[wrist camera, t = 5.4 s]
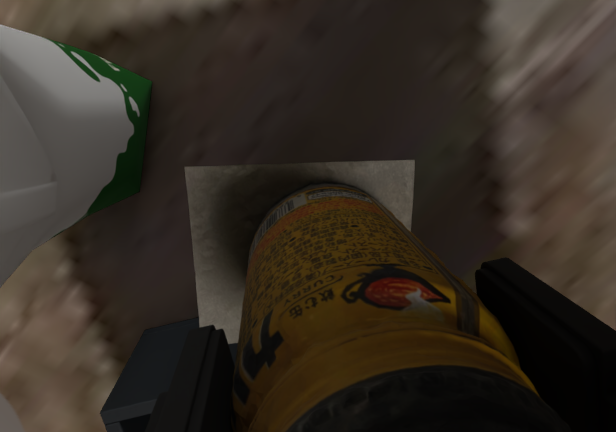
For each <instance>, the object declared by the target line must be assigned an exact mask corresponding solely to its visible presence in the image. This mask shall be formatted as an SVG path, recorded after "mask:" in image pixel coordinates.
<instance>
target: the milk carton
mask: <svg viewBox="0 0 616 432" xmlns="http://www.w3.org/2000/svg"><path fill="white" fill-rule="evenodd" d="M151 89H152V81H150V80H147V79H145V78H143V77H141V76H139V75H137V74H135V73H133V72H131V71H129V70H127V69H124V68H122V67H120V66H118V65H116V64H114V63H112V62H110V61H108V60H105V59H103V58H101V57H99V56H97V55H95V54H92V53H90V52H87V51H84V50H81V49H78V48H75V47H73V46H69V45H66V44H63V43H60V42H56V41H53V40H50V39H47V38H43V37H40V36H37V35H34V34H30V33H27V32H24V31H20V30H17V29H14V28H10V27H7V26H4V25H0V287H1V286H2V285H3V284H4V282H5V281H6V280H7V279H8V278H9V277H10V275H11V274H12V273H13V272H14V271H15V270H16V269H17V267H18V266H19V265H20V264H21V263H22V262H23V260H24V259H25V258H26V257H27V256H28V255H29V254H30V252H31V251H32V250H34V249H35V248H37V247H38V246H40V245H42V244H43V243H45V242H46V241H48V240H50V239H51V238H53V237H55V236H56V235H58V234H59V233H61V232H63V231H64V230H66V229H67V228H69V227H71V226H72V225H74V224H76V223H77V222H79V221H80V220H82V219H84V218H85V217H87V216H89V215H91V214H93V213H95V212H97V211H99V210H101V209H103V208H105V207H108V206H110V205H112V204H114V203H116V202H118V201H120V200H123V199H125V198H127V197H129V196H131V195H133V194H135V193H138V192H139V191H140V183H141V174H142V166H143V157H144V149H145V140H146V132H147V123H148V115H149V106H150V98H151Z"/></svg>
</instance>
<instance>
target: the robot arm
mask: <svg viewBox="0 0 616 432" xmlns="http://www.w3.org/2000/svg"><path fill="white" fill-rule="evenodd" d="M475 280H476V289H477V296H478V297H479V298H480V300H481V301H482V303H483V304H484V306H485V307H486V308H487V309H488V310H489V311H490V312H491V313H492V314H493V315H495V316H496V317H497V319H498V320H499V322H500V324H501V326H502V327H503V329H504V331H505V333H506V334H507V336H508V337H509V339H510V341H511V342H512V344H513V346H514V348H515V351H516V353H517V356H518V358H519V363H520V368H521V370H522V371H523V372H524V373H525V374H526V376H527V377H528V378H529V379H530V381H531V382H532V384H533V385H534V387H535V388H536V390H537V392H538V394H539V396H540V398H541V399H542V400H543V401H544V402H545V403H546V404H547V405H549V406H550V407H551V408H552V409H554V410H555V411H556V412H557V413H558V415H559V417H560V418H561V419H562V420H563V421H564V422H566V423H567V424H568V425H569V427H570V429H571V431H572V432H616V331H615V330H614V329H612V328H611V327H609V326H608V325H606V324H605V323H603V322H602V321H600V320H599V319H597V318H596V317H594V316H593V315H592V314H590V313H589V312H587V311H586V310H584V309H583V308H581V307H580V306H578V305H577V304H575V303H574V302H572V301H571V300H569V299H568V298H566V297H565V296H563V295H562V294H560V293H559V292H558V291H556V290H555V289H553V288H552V287H550V286H549V285H547V284H546V283H544V282H543V281H541V280H540V279H538V278H537V277H535V276H534V275H532V274H531V273H529V272H528V271H526V270H525V269H524V268H522V267H521V266H519V265H518V264H516V263H515V262H513V261H512V260H510V259H509V258H506V257H505V258H501V259H497V260H492V261H488V262H484V263H482V265H481V269H479V270H476V272H475ZM234 370H235V365H234V362H233V359H232V355H231V352H230V348H229V345H228V342H227V338H226V335H225V332H224V330H223V329H218V330H216V328H215V326H214V325H209V326H204V327H200V328H195V329H191V330H189V332H188V335H187V338H186V341H185V344H184V347H183V349H182V352H181V355H180V358H179V361H178V364H177V367H176V370H175V373H174V376H173V378H172V381H171V384H170V387H169V390H168V391H166V392H162V393H160V394H159V396H158V398H157V400H156V403H155V406H154V408H153V411H152V414H151V416H150V419H149V422H148V424H147V427H146V430H145V432H233V430H232V426H231V410H230V397H231V392H232V385H233V374H234Z"/></svg>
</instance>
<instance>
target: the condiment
mask: <svg viewBox="0 0 616 432" xmlns="http://www.w3.org/2000/svg"><path fill="white" fill-rule="evenodd" d="M414 170H415V160H395V161H359V162H325V163H324V162H317V163H292V164H258V165H227V166H198V167H185V177H186V187H187V193H188V204H189V214H190V225H191V235H192V243H193V256H194V267H195V272H196V291H197V302H198V311H199V326H200V327H204V326H209V325H214V326H215V328H216V330H218V329H223V330H224V332H225V335H226V338H227V342H228V344H232V343H238V345H237V354H236V361H235V370H234V374H233V385H232V392H231V397H230V410H231V426H232V430H233V432H572V431H571V429H570V427H569V425H568V424H567V423H566V422H564V421H563V420H562V419H561V418H560V417H559V415H558V413H557V412H556V411H555V410H554V409H552V408H551V407H550V406H549V405H547V404H546V403H545V402H544V401H543V400H542V399H541V398H540V396H539V394H538V392H537V390H536V388H535V387H534V385H533V384H532V382H531V381H530V379H529V378H528V377H527V376H526V374H525V373H524V372H523V371H522V370H521V368H520V363H519V358H518V356H517V353H516V351H515V348H514V346H513V344H512V342H511V341H510V339H509V337H508V336H507V334H506V333H505V331H504V329H503V327H502V326H501V324H500V322H499V320H498V319H497V317H496V316H495V315H493V314H492V313H491V312H490V311H489V310H488V309H487V308H486V307H485V306H484V304H483V303H482V301H481V300H480V298H479V297H478V296H477V295H476V293H474V292H473V291H472V289H470V288H469V287H468V286H467V285H466V284H465V282H464V281H463V280H461V279H460V278H458V277H457V276H455V275H454V274H452V273H451V272H450V271H449V270H448V269H447V268H446V267H445V265H444V263H443V262H442V261H440V260H439V258H438V256H437V255H436V254H435V253H434V252H432V251H431V250H429V249H428V248H426V247H425V246H424V244H423V243H422V242H421V241H420V240H419V239H418V238H416V236H415V235H414V234H412V233H411V215H412V206H413V189H414Z"/></svg>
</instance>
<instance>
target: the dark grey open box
mask: <svg viewBox="0 0 616 432" xmlns="http://www.w3.org/2000/svg"><path fill="white" fill-rule="evenodd" d="M195 328H200V326H199V317H198V318H194V319H190V320H186V321H181V322H177V323H173V324H168V325H164V326H160V327H156V328H151V329H147V330H145V331H144V333H143V335H142V336H141V338H140V340H139V342H138V344H137V346H136V347H135V349H134V351H133V353H132V355H131V357H130V358H129V360H128V362H127V364H126V366H125V368H124V369H123V371H122V373H121V375H120V377H119V379H118V380H117V382H116V384H115V386H114V388H113V390H112V392H111V393H110V395H109V397H108V399H107V401H106V403H105V404H104V406H103V408H102V410H101V412H100V414H101V417H102V419H103V422H104V424H105V427H106V430H107V432H145V430H146V427H147V424H148V422H149V419H150V416H151V414H152V411H153V408H154V406H155V403H156V400H157V398H158V396H159V394H160V393H162V392H166V391H168V390H169V387H170V384H171V381H172V378H173V376H174V373H175V370H176V367H177V364H178V361H179V358H180V355H181V352H182V349H183V347H184V344H185V341H186V338H187V335H188V332H189V330H191V329H195ZM228 345H229V348H230V352H231V355H232V359H233V362H234V365H235V361H236V354H237V345H238V343H232V344H228Z"/></svg>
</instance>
